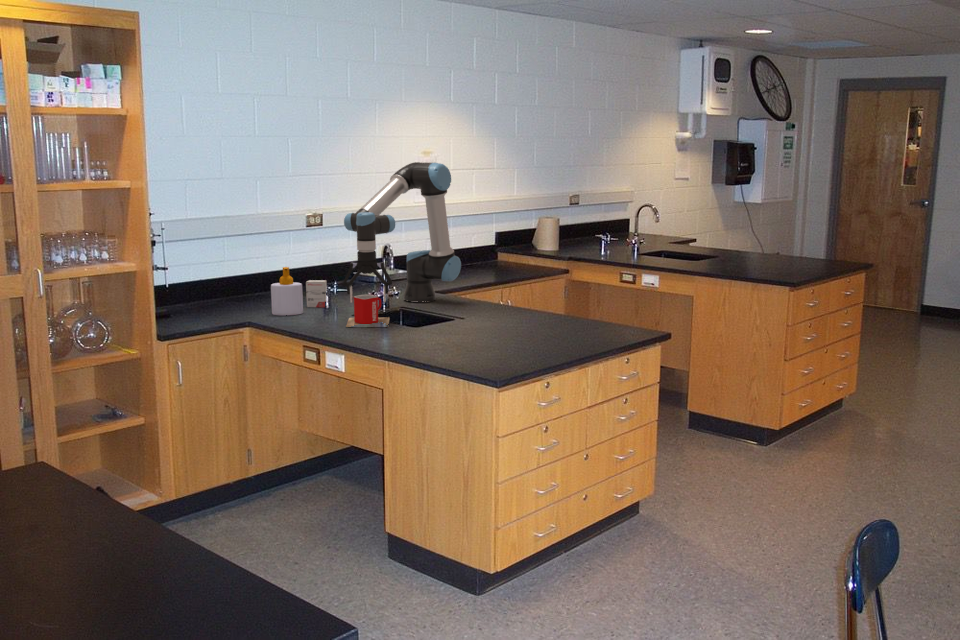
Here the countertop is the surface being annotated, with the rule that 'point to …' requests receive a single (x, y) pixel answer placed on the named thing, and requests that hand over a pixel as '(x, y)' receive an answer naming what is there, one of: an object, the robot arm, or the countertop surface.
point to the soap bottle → (286, 296)
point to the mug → (366, 309)
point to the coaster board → (380, 319)
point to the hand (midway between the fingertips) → (368, 301)
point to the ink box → (316, 293)
